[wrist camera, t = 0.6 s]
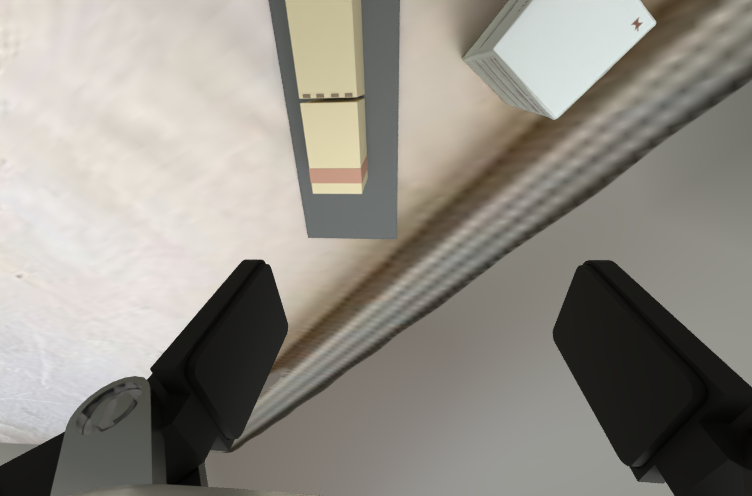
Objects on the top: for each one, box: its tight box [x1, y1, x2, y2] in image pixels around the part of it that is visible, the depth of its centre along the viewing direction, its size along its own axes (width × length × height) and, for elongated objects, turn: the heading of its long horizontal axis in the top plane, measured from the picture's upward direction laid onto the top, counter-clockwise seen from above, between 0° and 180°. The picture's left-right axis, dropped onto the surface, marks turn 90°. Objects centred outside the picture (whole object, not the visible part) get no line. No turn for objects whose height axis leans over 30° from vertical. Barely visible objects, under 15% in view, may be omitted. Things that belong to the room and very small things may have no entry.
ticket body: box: [285, 0, 365, 99], centre depth 26 cm, size 14×6×6 cm, turn 1°
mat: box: [269, 0, 400, 239], centre depth 33 cm, size 33×13×1 cm, turn 1°
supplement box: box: [462, 0, 656, 120], centre depth 24 cm, size 7×7×13 cm
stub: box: [300, 98, 368, 194], centre depth 32 cm, size 9×6×6 cm, turn 1°
